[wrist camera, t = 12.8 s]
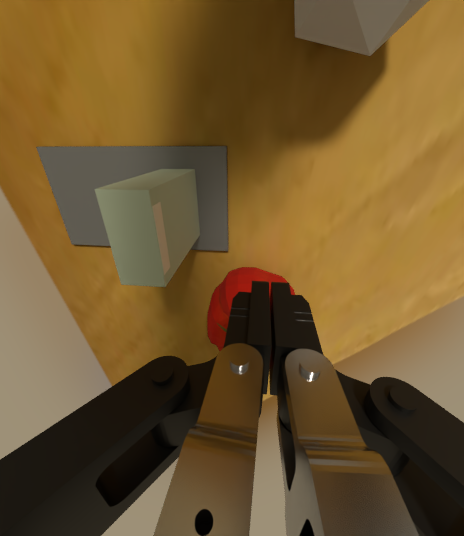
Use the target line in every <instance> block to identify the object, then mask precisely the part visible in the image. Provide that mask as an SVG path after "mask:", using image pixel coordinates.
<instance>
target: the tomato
mask: <svg viewBox="0 0 464 536" xmlns="http://www.w3.org/2000/svg"><path fill="white" fill-rule="evenodd" d="M252 281H267V282H269V294H270V289H271V282H286V283H288V282H287V281H286V280H285V279H284V278H283V277H282V276H279V275H276V274H273V273H269V272H267V271H264V270H261V269H258V268H252V267H242V268H238V269H235V270H232V271H230V272H229V273H228V275H227V276H226V278H225V279H224V281H223V282H222V283H221V284H220V285H219V286H218V287H217V288H216V289H215V291H214V293H213V295H212V298H211V302H210V306H209V310H208V337H209V339H210V341H211V343H213V344H215V345H217V347H218V349H219V351H221V350H222V349H223V347H224V343H225V337H226V332H227V327H228V322H229V316H230V311H231V306H232V300H233V298H234V297H235V296H236V294H237V293H238V292H251V288H252ZM290 290H291V295H295V293H294V290H293V288H292V287H291V286H290Z"/></svg>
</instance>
